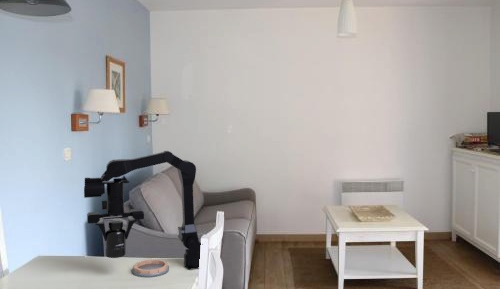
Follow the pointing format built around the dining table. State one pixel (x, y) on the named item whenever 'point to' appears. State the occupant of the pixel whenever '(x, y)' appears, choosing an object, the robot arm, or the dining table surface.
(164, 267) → the bottle holder
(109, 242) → the supplement bottle
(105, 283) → the dining table surface
